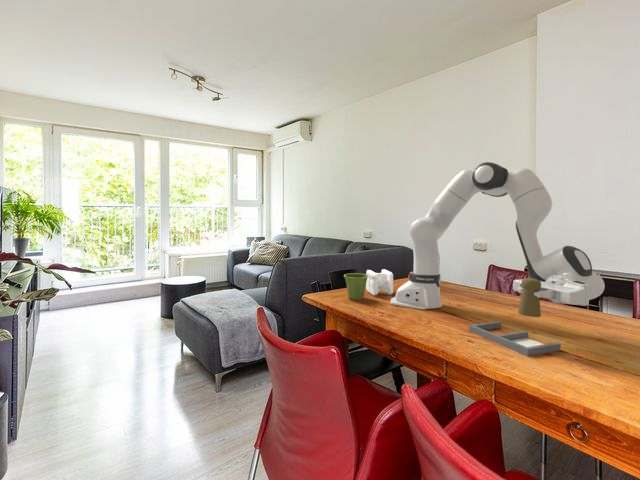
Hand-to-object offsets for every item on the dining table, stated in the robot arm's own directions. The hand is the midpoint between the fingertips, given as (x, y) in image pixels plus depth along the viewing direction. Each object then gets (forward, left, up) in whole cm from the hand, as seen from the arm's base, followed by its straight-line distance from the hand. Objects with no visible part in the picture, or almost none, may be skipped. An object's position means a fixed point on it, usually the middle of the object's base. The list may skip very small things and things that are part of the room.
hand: (527, 292), depth 104 cm
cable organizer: (-60, +49, -17) cm, 79 cm away
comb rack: (-3, +4, -17) cm, 18 cm away
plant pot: (-67, +34, -17) cm, 77 cm away
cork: (+1, 0, -7) cm, 7 cm away
